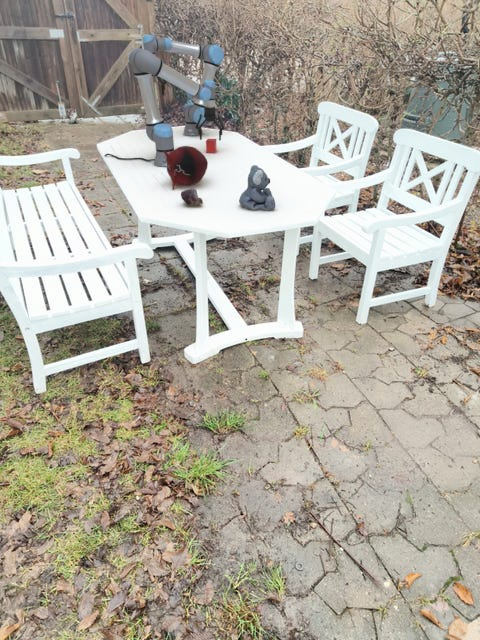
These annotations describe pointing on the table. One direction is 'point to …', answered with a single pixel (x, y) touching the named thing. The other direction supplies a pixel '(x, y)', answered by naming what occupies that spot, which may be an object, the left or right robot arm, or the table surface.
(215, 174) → the table surface
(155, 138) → the left robot arm
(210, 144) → the brick
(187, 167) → the dark red rounded piece
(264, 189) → the koala plush
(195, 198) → the rock
